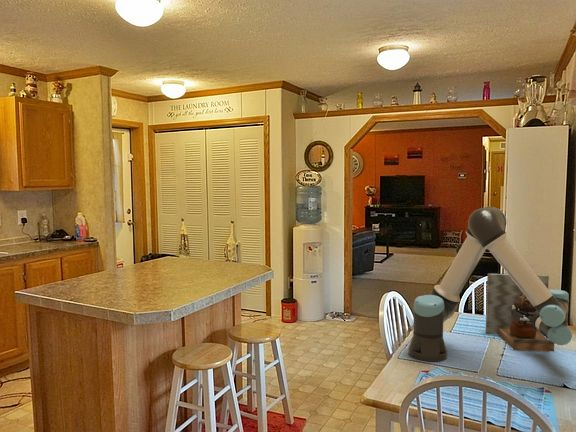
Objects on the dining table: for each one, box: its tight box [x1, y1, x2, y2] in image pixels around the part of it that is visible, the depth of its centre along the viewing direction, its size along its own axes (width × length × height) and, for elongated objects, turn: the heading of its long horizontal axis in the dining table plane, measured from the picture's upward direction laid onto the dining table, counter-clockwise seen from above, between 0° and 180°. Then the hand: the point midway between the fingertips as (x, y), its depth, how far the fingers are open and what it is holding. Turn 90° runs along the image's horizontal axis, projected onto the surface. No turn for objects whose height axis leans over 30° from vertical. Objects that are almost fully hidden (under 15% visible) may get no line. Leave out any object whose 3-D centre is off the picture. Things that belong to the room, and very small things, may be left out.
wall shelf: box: [485, 273, 555, 352], centre depth 205 cm, size 26×22×28 cm
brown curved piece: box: [510, 292, 537, 337], centre depth 206 cm, size 15×11×20 cm
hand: (522, 308), depth 208 cm, fingers closed on brown curved piece, 7 cm apart
